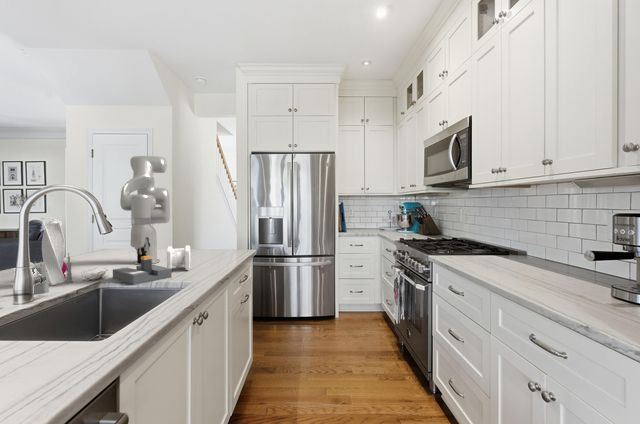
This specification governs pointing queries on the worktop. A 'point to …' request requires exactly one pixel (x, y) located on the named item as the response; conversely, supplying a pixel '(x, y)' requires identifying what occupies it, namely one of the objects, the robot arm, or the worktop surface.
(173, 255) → the cable organizer
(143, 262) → the block
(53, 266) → the skyscraper
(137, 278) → the breaker panel
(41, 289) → the power adapter
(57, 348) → the worktop surface
